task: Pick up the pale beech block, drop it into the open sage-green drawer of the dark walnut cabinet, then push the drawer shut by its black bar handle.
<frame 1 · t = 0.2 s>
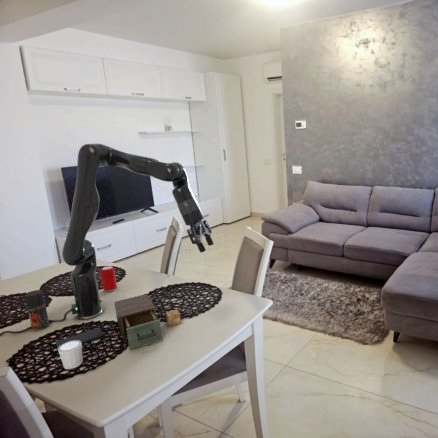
hand: (207, 248, 144), 31 cm above the table, tool tilted 20°, fingers open, 8 cm apart
beverage can: (110, 290, 183), on the table
drawer: (142, 328, 134), point 5 cm above the table, slide at 9.0 cm
cabinet: (137, 326, 146), on the table
block: (173, 322, 148), on the table
white cup: (73, 364, 122), on the table
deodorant: (40, 327, 148), on the table
phone: (80, 340, 137), on the table
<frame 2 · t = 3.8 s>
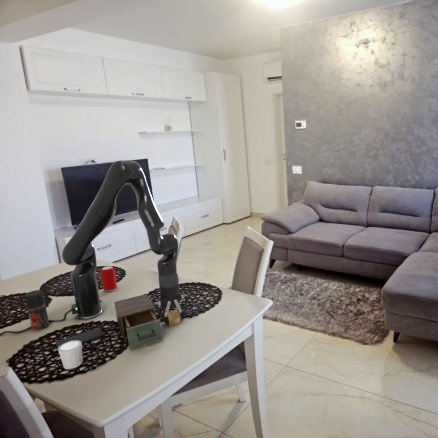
hand: (173, 321, 148), 0 cm above the table, tool pointing down, fingers closed on block, 4 cm apart
block: (173, 322, 148), on the table, touching gripper
everything else where it was.
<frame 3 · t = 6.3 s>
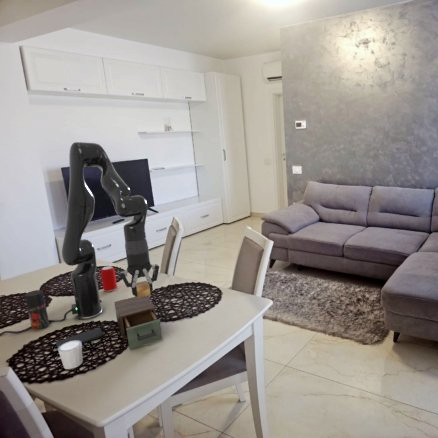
hand: (142, 293, 135), 17 cm above the table, tool pointing down, fingers closed on block, 4 cm apart
block: (143, 294, 135), point 17 cm above the table, touching gripper
everything else where it was.
when the fingers open (8 cm above the table, at t = 9.2 s): block drops 6 cm, resting on drawer.
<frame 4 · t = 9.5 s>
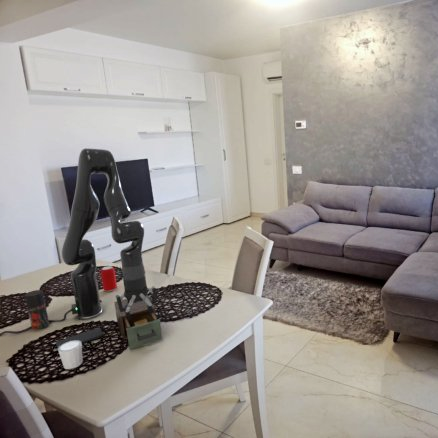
hand: (139, 317, 135), 9 cm above the table, tool pointing down, fingers open, 6 cm apart
drawer: (142, 328, 134), point 5 cm above the table, slide at 9.0 cm, touching block
block: (142, 333, 136), point 2 cm above the table, touching drawer
everything else where it was.
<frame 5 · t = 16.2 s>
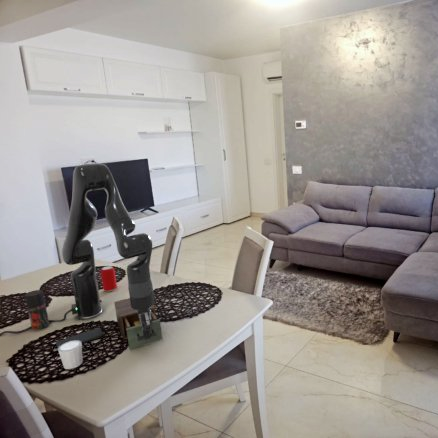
hand: (147, 338, 125), 6 cm above the table, tool pointing down, fingers closed
drawer: (142, 328, 134), point 5 cm above the table, slide at 9.0 cm, touching block, gripper
everything else where it was.
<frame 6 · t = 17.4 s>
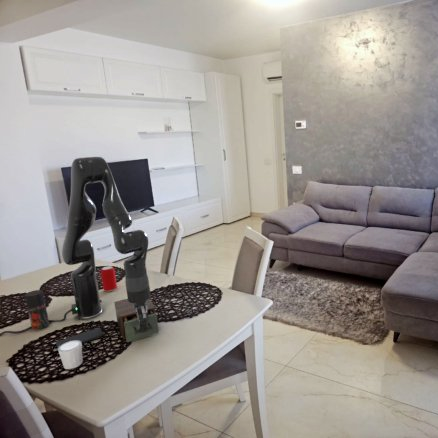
hand: (144, 331, 130), 6 cm above the table, tool pointing down, fingers closed
drawer: (139, 322, 139), point 5 cm above the table, slide at 3.3 cm, touching block, gripper
block: (139, 327, 141), point 2 cm above the table, touching drawer
everything else where it was.
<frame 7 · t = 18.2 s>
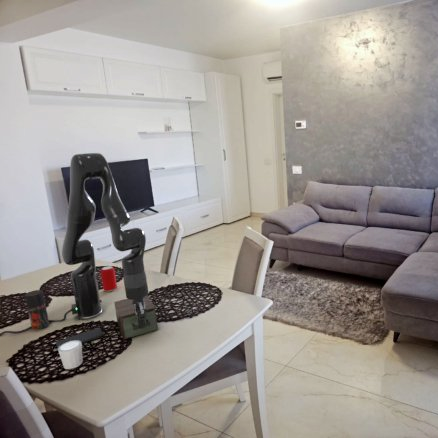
hand: (142, 327, 133), 6 cm above the table, tool pointing down, fingers closed
drawer: (137, 319, 141), point 5 cm above the table, slide at 0.0 cm, touching block, cabinet, gripper
block: (137, 323, 144), point 2 cm above the table, touching drawer
everything else where it was.
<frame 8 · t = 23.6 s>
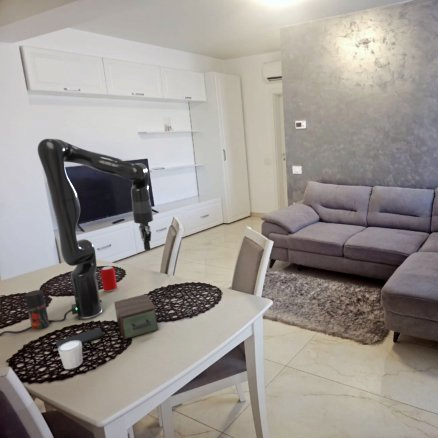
hand: (147, 249, 157), 27 cm above the table, tool pointing down, fingers closed
drawer: (137, 319, 141), point 5 cm above the table, slide at 0.0 cm, touching block, cabinet
everything else where it was.
at the end: block inside the target area in the cabinet (2.0 cm from its centre), point 2.0 cm above the cabinet's base; drawer slide at 0.0 cm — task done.
